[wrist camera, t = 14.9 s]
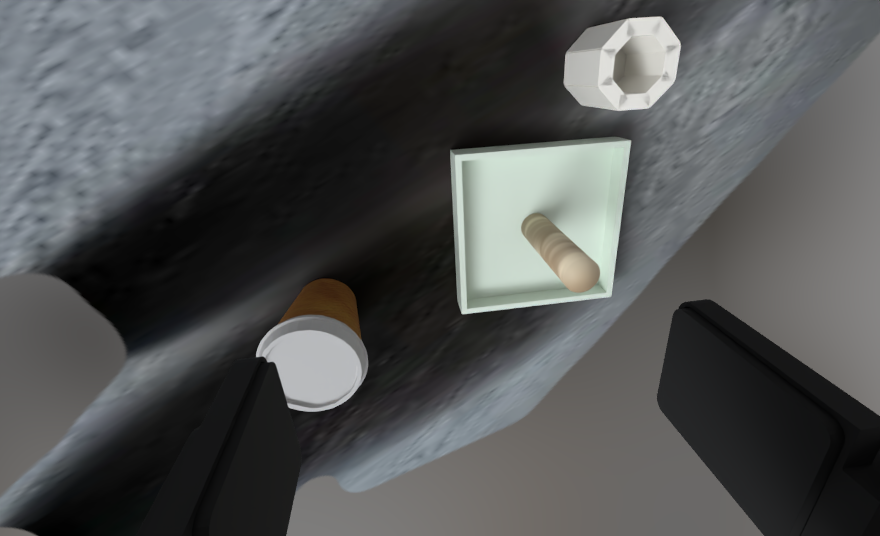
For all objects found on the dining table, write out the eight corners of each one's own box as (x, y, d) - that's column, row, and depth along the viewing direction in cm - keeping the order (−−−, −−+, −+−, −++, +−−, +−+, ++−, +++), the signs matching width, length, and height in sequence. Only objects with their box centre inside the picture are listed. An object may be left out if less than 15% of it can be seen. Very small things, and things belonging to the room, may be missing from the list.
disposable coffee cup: (263, 300, 45) (226, 370, 35) (329, 247, 44) (311, 303, 33) (326, 353, 49) (310, 432, 38) (388, 306, 48) (390, 374, 37)
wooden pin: (521, 214, 44) (565, 261, 33) (549, 211, 44) (601, 257, 33) (520, 241, 45) (562, 294, 34) (548, 238, 45) (598, 290, 35)
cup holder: (567, 29, 38) (603, 19, 32) (636, 25, 39) (685, 15, 32) (562, 106, 41) (595, 112, 34) (627, 101, 41) (670, 106, 35)
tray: (450, 149, 41) (454, 155, 38) (615, 136, 43) (631, 140, 40) (457, 300, 48) (461, 314, 46) (598, 284, 50) (611, 296, 47)
